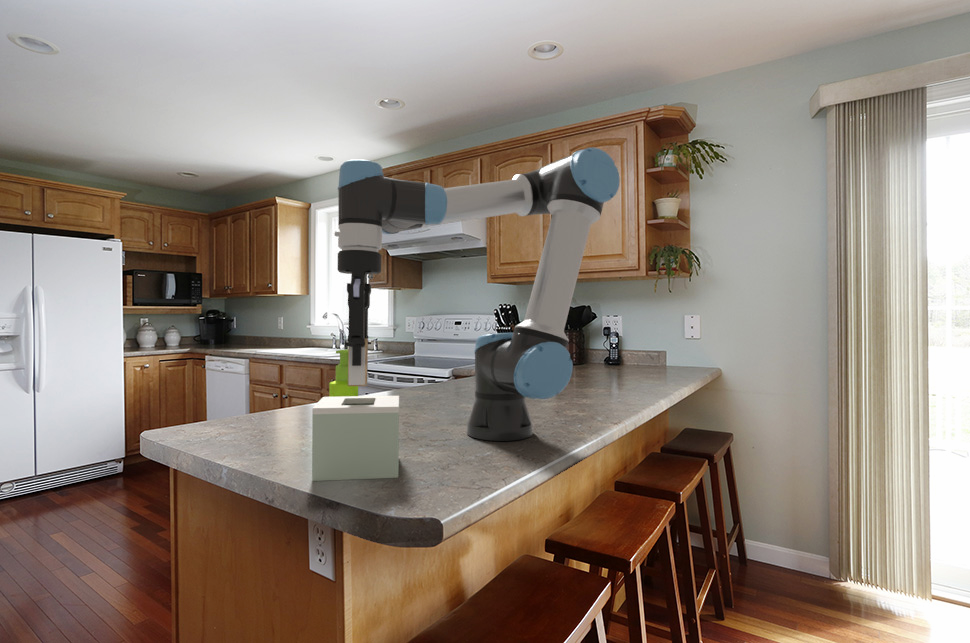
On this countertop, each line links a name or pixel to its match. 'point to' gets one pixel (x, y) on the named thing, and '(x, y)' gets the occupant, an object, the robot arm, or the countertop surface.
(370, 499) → the countertop surface
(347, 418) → the coin box
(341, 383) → the soap dispenser
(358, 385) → the white tan block
